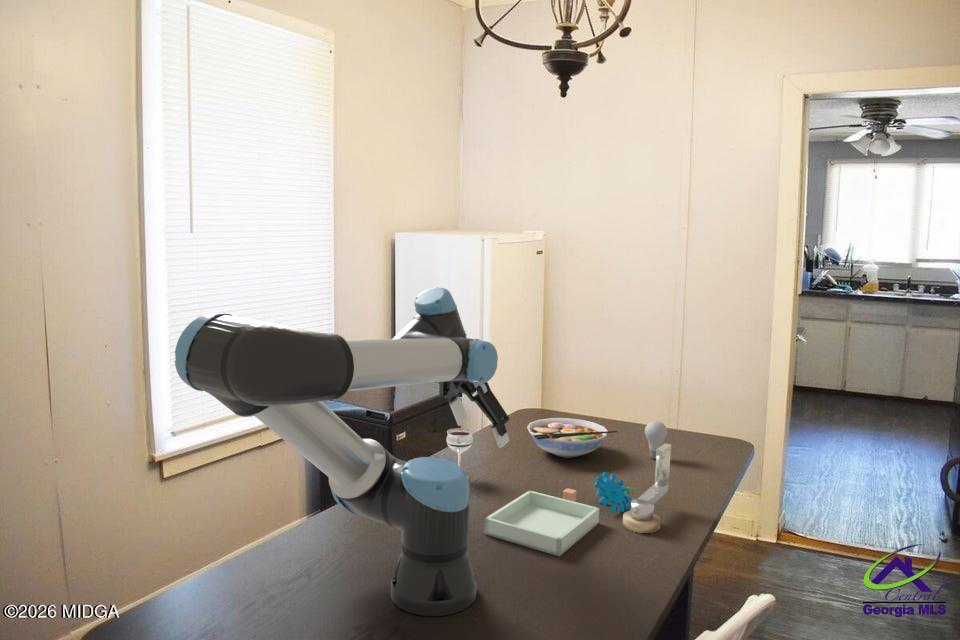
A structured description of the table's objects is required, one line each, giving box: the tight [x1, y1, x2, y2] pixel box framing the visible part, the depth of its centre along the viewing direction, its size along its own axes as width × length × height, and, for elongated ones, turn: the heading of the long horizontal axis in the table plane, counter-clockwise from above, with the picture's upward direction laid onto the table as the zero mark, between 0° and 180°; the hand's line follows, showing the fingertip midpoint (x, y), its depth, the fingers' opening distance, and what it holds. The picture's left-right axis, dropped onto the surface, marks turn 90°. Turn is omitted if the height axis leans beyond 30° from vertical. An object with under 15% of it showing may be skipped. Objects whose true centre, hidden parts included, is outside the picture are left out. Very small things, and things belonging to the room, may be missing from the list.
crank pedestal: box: [622, 510, 661, 534], centre depth 161 cm, size 8×8×2 cm
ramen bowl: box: [526, 417, 618, 459], centre depth 209 cm, size 25×23×8 cm
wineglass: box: [446, 427, 474, 467], centre depth 187 cm, size 7×7×12 cm
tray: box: [483, 490, 600, 557], centre depth 159 cm, size 20×18×4 cm
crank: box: [629, 442, 672, 521], centre depth 166 cm, size 18×5×12 cm, turn 148°
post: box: [561, 487, 577, 502], centre depth 171 cm, size 2×2×4 cm
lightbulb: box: [644, 420, 668, 460], centre depth 206 cm, size 6×6×11 cm
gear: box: [594, 471, 633, 513], centre depth 173 cm, size 11×6×10 cm
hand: (483, 432), depth 161 cm, fingers open, 13 cm apart
